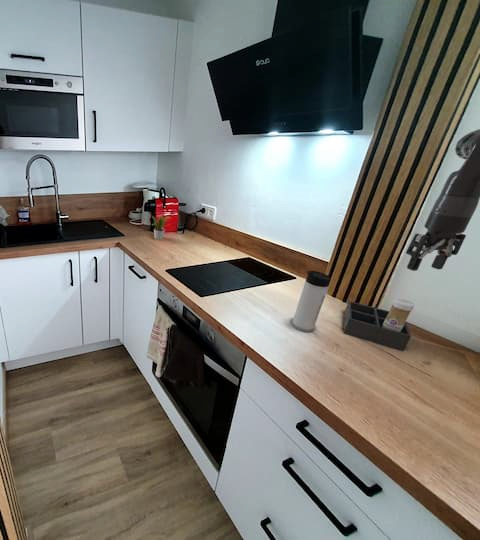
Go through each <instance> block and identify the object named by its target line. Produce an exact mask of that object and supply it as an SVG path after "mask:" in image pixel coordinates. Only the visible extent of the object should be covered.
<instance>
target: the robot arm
mask: <svg viewBox="0 0 480 540" xmlns="http://www.w3.org/2000/svg"><path fill="white" fill-rule="evenodd" d="M454 153H455V155H456V156H457V157H459V158H460V159H462V160H465V161H464V162H463V164H462V165H461V166H460V168H459V169H458V170H456V171H453V172H451V173H450V174H449V175H448V177H447V178H446V180H445V182H444V184H443V186H442V189H441V191H440V193H439V194H438V197H437V198H436V200H435V201H434V203H433V205H432V208H431V210H430V212H429V214H428V216H427V219H426V221H425V223H424V226H423V227H424V228H425V229H426V232H425V234H421V233H415V234H414V235H413V238H412V240H411V242H410V243H409V245H408V248H407V249H406V251H405V254H406V255H409V256H410V259H409V261H408V263H407V266H406V269H408V270H410V271H413V272H416V271H418V270H419V268H420V266H421V263H422V261H423V259H424V258H425V257H426V256H427V255H428V254H432V253H433V252H434V251H436V252H437V254H435V255H436V256H435V257H434V259H433V261H432V263H431V268H433V269H435V270H443V268H444V266H445V264H446V262H447V260H448V258H451V257H452V256H457V255H458V254H459V252H460V250H461V248H462V245H463V243H464V242H465V239H466V237H467V234H464V232H465V231H466V229H467V227H468V225H469V223H470V221H471V219H472V218H473V216H474V214H475V212H476V210H477V208H478V206H479V201H480V128H479V129H476V130H473V131H470V132H469V133H467V134H465V135H463V136H462V137H461V138H460V139H459V140H458V141H457V142H456V144H455V147H454Z"/></svg>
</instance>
